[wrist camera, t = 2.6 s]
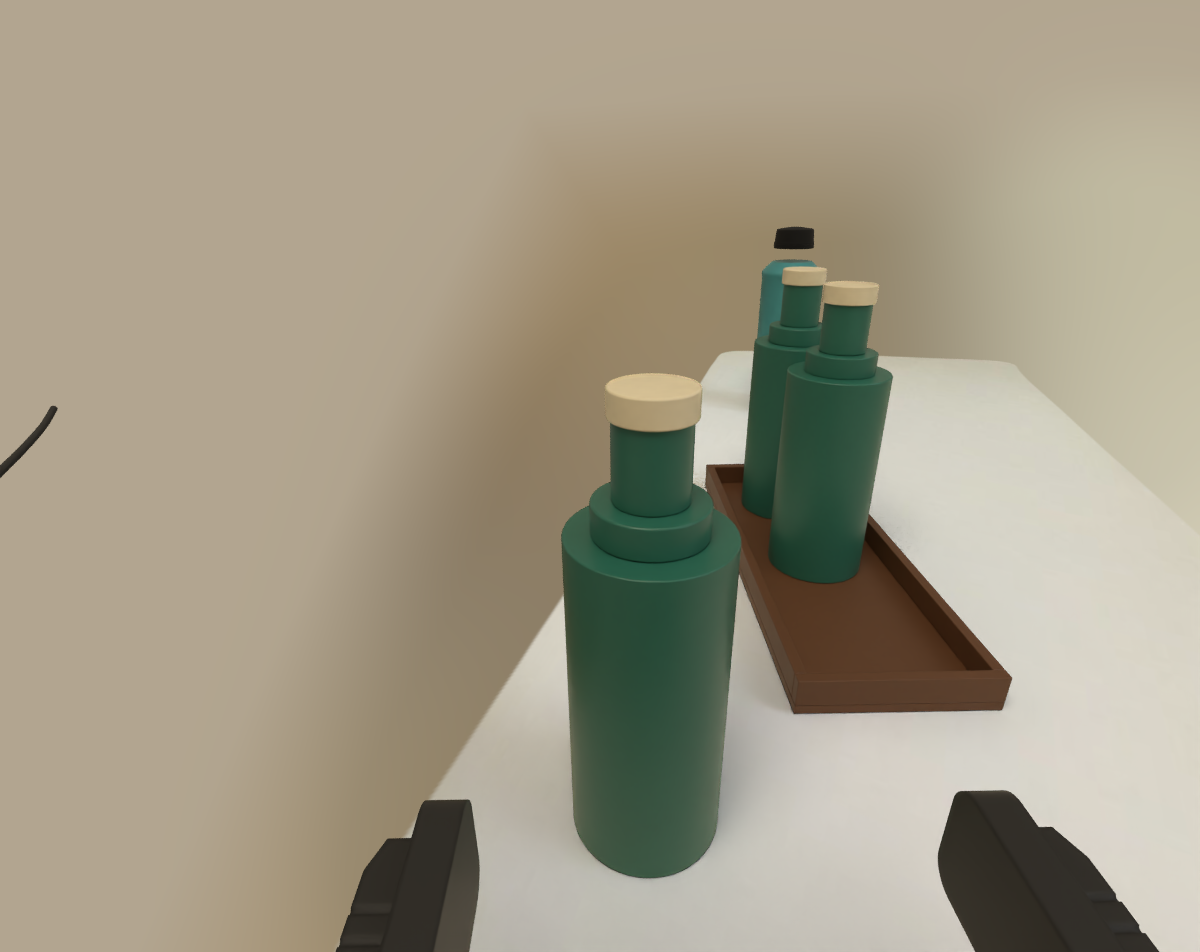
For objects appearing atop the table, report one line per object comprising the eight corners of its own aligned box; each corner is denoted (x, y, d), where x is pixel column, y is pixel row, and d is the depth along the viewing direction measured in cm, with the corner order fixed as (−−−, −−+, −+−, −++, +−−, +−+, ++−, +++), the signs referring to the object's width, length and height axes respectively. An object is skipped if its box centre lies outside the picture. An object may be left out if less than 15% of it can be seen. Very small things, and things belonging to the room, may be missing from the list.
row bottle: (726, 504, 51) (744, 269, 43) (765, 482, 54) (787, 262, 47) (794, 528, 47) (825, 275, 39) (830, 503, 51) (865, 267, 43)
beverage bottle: (753, 415, 73) (770, 228, 64) (745, 398, 79) (759, 226, 71) (811, 415, 72) (835, 227, 64) (798, 398, 78) (819, 225, 70)
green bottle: (544, 810, 26) (513, 387, 19) (638, 730, 30) (643, 353, 23) (653, 913, 22) (668, 432, 15) (745, 806, 26) (792, 383, 19)
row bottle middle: (750, 560, 43) (777, 285, 36) (794, 530, 47) (826, 275, 39) (833, 595, 39) (882, 294, 32) (874, 558, 43) (925, 282, 36)
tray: (1002, 710, 31) (1013, 678, 30) (793, 714, 31) (798, 681, 30) (821, 483, 55) (824, 462, 54) (705, 485, 55) (706, 464, 54)
